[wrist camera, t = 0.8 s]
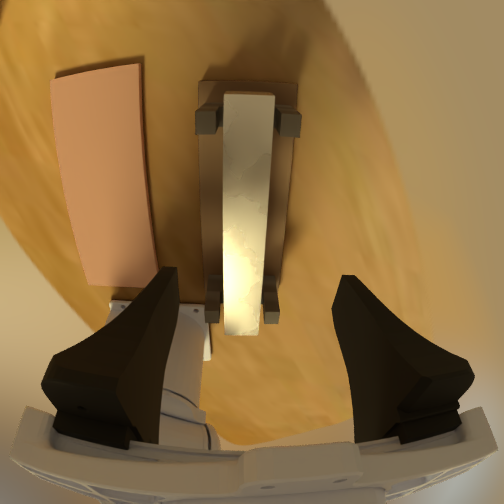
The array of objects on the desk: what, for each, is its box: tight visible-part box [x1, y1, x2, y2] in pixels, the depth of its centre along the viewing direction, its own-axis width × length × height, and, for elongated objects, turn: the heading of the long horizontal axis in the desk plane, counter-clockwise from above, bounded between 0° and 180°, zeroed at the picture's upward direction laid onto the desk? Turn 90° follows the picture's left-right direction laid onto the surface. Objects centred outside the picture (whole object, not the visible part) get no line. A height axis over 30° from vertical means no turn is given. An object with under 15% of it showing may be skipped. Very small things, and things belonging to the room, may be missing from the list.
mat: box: [50, 63, 159, 288], centre depth 21 cm, size 7×18×1 cm, turn 178°
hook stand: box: [195, 80, 302, 324], centre depth 20 cm, size 17×6×5 cm, turn 178°
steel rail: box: [223, 91, 275, 335], centre depth 19 cm, size 16×2×2 cm, turn 178°
